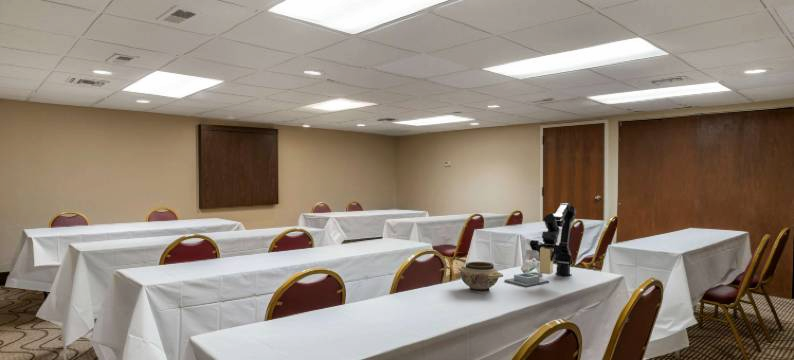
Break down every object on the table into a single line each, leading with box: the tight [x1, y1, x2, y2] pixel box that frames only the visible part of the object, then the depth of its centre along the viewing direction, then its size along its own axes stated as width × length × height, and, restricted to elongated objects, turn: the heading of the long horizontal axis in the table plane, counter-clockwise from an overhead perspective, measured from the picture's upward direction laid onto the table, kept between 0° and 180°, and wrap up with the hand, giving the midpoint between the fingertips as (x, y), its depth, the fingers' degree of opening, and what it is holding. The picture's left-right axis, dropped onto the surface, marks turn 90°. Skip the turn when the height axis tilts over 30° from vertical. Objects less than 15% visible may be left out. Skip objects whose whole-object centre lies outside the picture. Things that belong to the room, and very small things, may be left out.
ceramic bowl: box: [457, 261, 504, 294], centre depth 219 cm, size 24×18×15 cm
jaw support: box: [520, 257, 543, 277], centre depth 257 cm, size 12×9×10 cm
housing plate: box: [504, 272, 550, 288], centre depth 237 cm, size 18×14×4 cm
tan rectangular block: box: [539, 247, 554, 275], centre depth 228 cm, size 5×5×12 cm
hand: (545, 260), depth 227 cm, fingers closed on tan rectangular block, 5 cm apart
